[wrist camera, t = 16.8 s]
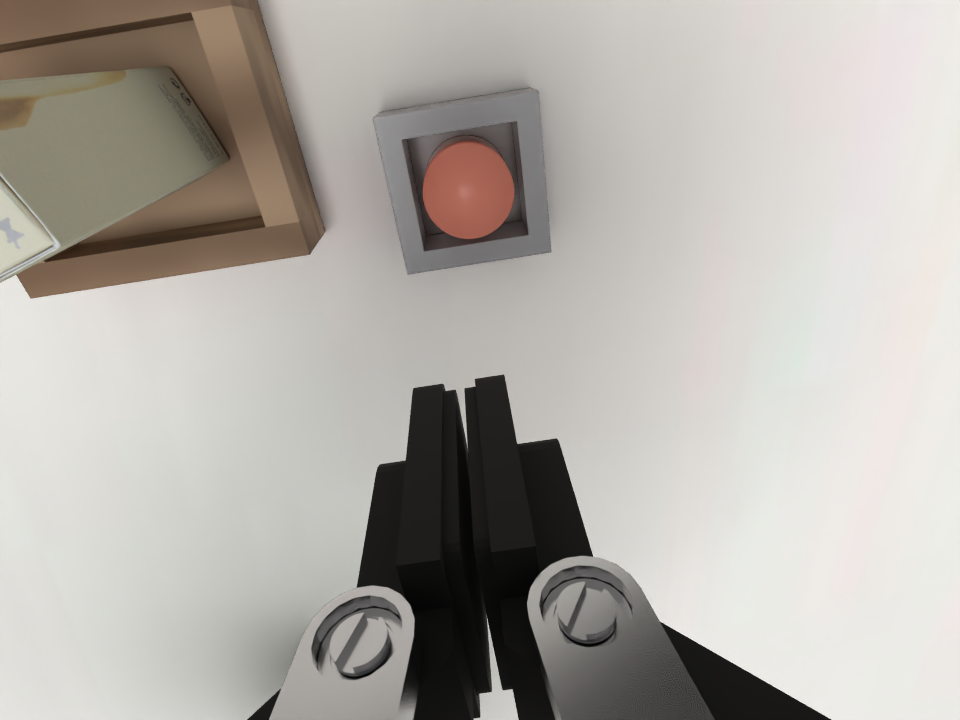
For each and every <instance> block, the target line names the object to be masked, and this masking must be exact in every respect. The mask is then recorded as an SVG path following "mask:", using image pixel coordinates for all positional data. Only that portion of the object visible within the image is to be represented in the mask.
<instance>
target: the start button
mask: <svg viewBox="0 0 960 720" xmlns="http://www.w3.org/2000/svg"><path fill="white" fill-rule="evenodd" d="M423 201H424V205H425V208H426V211H427V213H428V215H429V217H430V218H431V220H432V221H433V222H434V223H435V224H436V225H437V227H439V228H440V229H441V230H442V231H444V232H446V233H447V234H449V235H451V236H454V237H457V238H463V239H474V238H479V237H483V236H486V235H488V234H490V233H492V232H493V231H495V230H496V229H497V228H498V227H500V226H501V225H502V223H503V222H504V221H505V220H506V218H507V217H508V215H509V213H510V211H511V208H512V205H513V201H514V183H513V179H512V176H511V173H510V171H509V169H508V167H507V165H506V163H505V161H504V159H503V157H502V156H501V154H500V153H499V151H498V150H497V149H496V148H495V147H494V146H493V145H492V144H490V143H489V142H487V141H486V140H484V139H482V138H479V137H475V136H458V137H454V138H451V139H449V140H447V141H445V142H444V143H442V144H441V145H440V146H439V147H438V148H437V149H436V150H435V151H434V153H433V154H432V156H431V157H430V159H429V162H428V164H427V168H426V172H425V178H424V184H423Z"/></svg>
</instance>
